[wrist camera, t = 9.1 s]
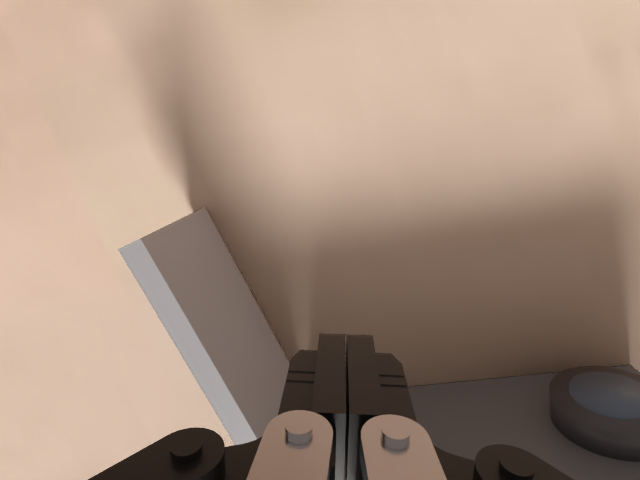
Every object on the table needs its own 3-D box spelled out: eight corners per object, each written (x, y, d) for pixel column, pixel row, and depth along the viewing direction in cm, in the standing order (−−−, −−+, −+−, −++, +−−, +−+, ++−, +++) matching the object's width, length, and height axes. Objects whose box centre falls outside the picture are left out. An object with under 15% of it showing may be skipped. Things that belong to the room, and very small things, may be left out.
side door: (306, 391, 24) (289, 490, 17) (280, 400, 25) (254, 502, 18) (206, 206, 22) (142, 237, 15) (179, 219, 22) (105, 255, 15)
